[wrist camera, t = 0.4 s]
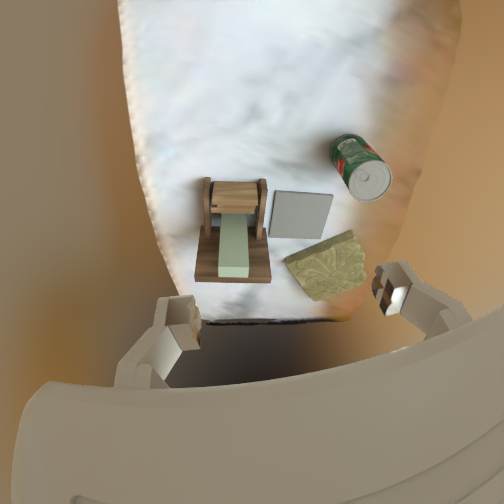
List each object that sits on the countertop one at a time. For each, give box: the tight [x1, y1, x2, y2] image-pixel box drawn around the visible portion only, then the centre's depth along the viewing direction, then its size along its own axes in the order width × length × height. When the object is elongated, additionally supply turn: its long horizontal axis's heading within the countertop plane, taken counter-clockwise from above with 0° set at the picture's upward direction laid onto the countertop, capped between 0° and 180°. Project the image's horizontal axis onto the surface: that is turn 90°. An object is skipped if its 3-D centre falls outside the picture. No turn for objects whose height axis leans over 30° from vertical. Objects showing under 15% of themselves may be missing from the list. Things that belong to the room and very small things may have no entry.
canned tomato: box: [330, 134, 392, 202], centre depth 43 cm, size 8×8×11 cm
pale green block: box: [218, 213, 249, 278], centre depth 51 cm, size 3×5×16 cm, turn 85°
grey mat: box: [269, 191, 334, 239], centre depth 57 cm, size 12×12×1 cm
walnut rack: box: [194, 177, 271, 283], centre depth 50 cm, size 14×14×14 cm
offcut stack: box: [211, 181, 258, 214], centre depth 50 cm, size 4×8×6 cm, turn 86°
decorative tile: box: [286, 230, 367, 301], centre depth 69 cm, size 19×20×4 cm
